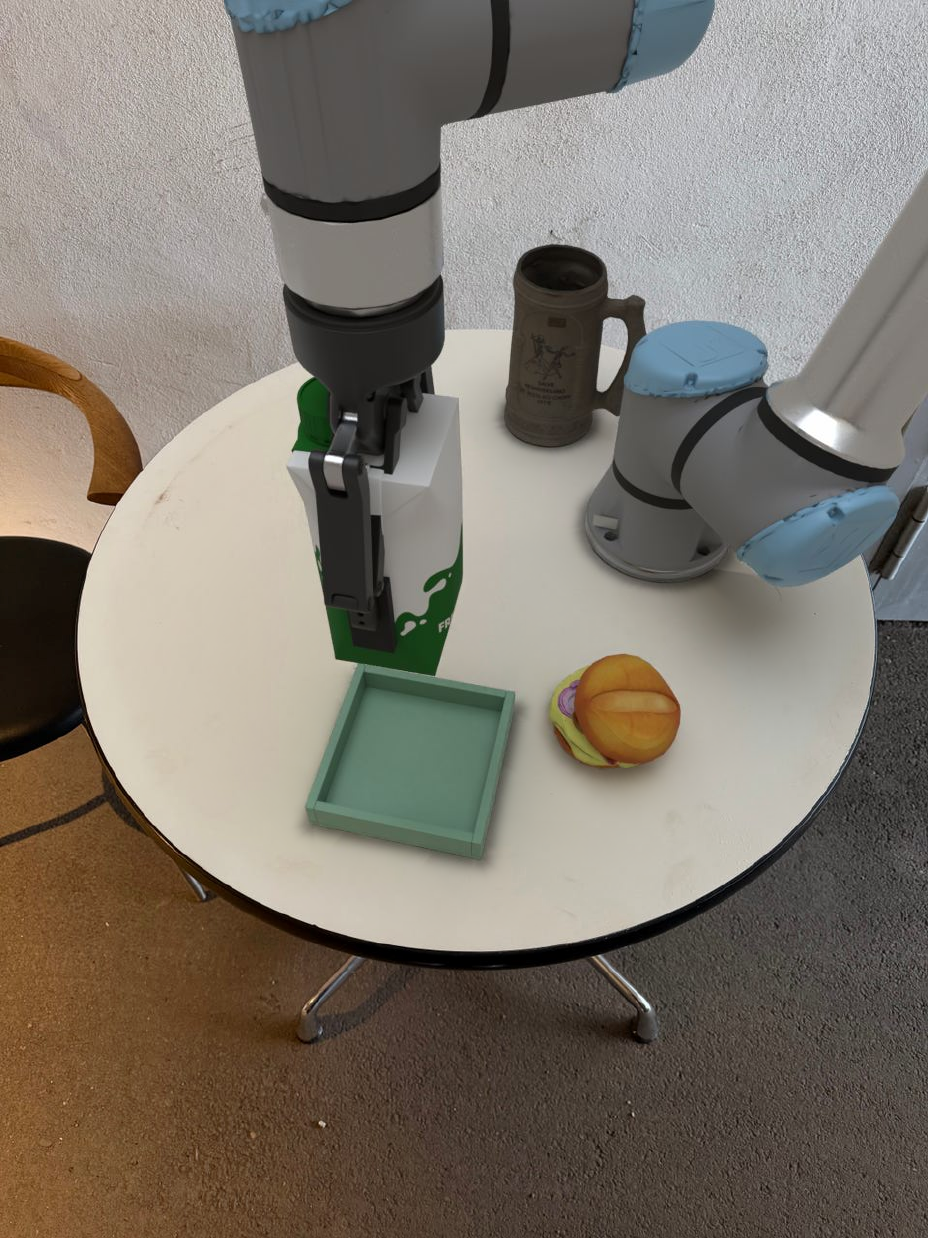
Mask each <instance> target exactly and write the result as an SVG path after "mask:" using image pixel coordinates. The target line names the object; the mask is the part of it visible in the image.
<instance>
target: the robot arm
mask: <svg viewBox="0 0 928 1238" xmlns="http://www.w3.org/2000/svg"><path fill="white" fill-rule="evenodd" d="M223 5H224V9H225V13H226V15H227V16H229V19H230V23H231V24H230V25H231V28H232V33H233V37H234V43H235V48H236V52H237V57H238V61H239V67H240V71H241V72H240V73H241V76H242V81H243V87H244V92H245V96H246V102H247V106H248V111H249V116H250V121H251V126H252V132H253V135H254V143H255V147H256V152H257V156H258V160H259V167H260V174H261V179H262V184H263V190H264V192H263V193H262V194H261V198H260V201H259V206H260V209H261V212H263V213H264V215H266V216H268V217H269V224H270V228H271V233H272V239H273V244H274V249H275V255H276V261H277V266H278V271H279V274H280V279H281V280H282V282H284V283H283V287H282V298H283V304H284V309H285V314H286V315H285V316H286V320H287V324H288V325H287V326H288V330H289V336H290V340H291V346H292V351H293V354H294V356H295V358H296V360H297V361H298V363H299V365H300V366H301V367H302V368H303V369H304V370H305V371H306V372H307V373H309V374H310V375H311V376H312V377H315V378H316V379H318V380H319V381H320V382H321V383H322V384H323V385H324V386H325V387H326V388H327V389H328V390H329V393H328V397H327V420H328V422H329V423H330V426H331V446H330V449H329V451H328V450H321V449H315V448H314V449H312V451H311V453H310V456H309V459H308V468H309V472H310V476H311V479H312V483H313V486H314V490H315V493H316V506H317V518H318V531H319V543H320V556H321V569H322V581H323V591H322V595H323V594H324V596H323V604H324V606H325V607H326V606H328V607H333V608H339V609H344V610H347V614H348V620H349V625H350V631H351V636H352V642H353V646H355V647H360V648H366V649H371V650H377V651H382V652H387V653H393V654H394V653H395V650H396V647H397V637H396V628H395V619H394V610H393V601H392V592H391V583H390V577H385V576H384V558H385V548H384V535H382V525H381V515H371V510H370V488H369V479H368V474H369V472H370V468H375V469H381V470H384V473H383V474H390V475H393V472H394V470H395V467H396V465H397V462H398V460H399V456H400V439H401V430H402V429H403V427H404V426H405V424H406V418H407V407H408V410H409V412H414V413H418V411H419V409H420V406H421V404H422V402H423V399H424V397H423V394H422V393H425V394H433V395H436V392H435V384H434V375H433V365H434V364H435V363H436V361H437V360H438V358H439V357H440V355H441V353H442V352H443V349H444V346H445V341H446V340H445V339H446V329H445V328H446V323H445V286H444V279H443V276H442V272H443V268H444V265H445V256H444V255H445V254H444V252H445V251H444V230H443V229H444V227H443V200H442V198H443V197H442V174H441V173H442V161H441V143H442V139H441V138H442V137H441V136H442V127H443V126H445V125H449V124H453V123H454V124H455V123H459V122H463V121H464V122H465V121H470V120H476V119H480V118H481V119H482V118H484V117H486V116H489V115H494V114H499V113H505V112H510V111H513V110H515V111H516V110H519V109H525V108H530V107H533V106H539V105H545V104H550V103H554V102H560V101H563V100H568V99H574V98H579V97H584V96H585V97H586V96H589V95H594V94H595V95H596V94H599V93H604V92H605V93H606V94H607V95H608V94H617V93H619V92H620V91H621V90H623V88H624V87H627V86H630V85H633V84H637V83H640V82H644V81H647V80H650V79H654V78H657V77H661V76H664V75H666V74H669V73H671V72H674V71H675V70H676V69H679V68H680V67H681V66H682V65H684V64H685V62H687V61H688V59H689V58H691V57H692V55H693V54H694V52H696V51H697V49H698V47H699V46H700V44H701V43H702V41H703V39H704V37H705V35H706V32H707V31H708V29H709V26H710V24H711V21H712V18H713V15H714V12H715V8H716V0H223ZM768 351H769V350H768V349H767V346H766V345H765V342H763V341H762V339H761V338H759V337H758V336H757V335H755V334H754V333H753V332H751V331H749V330H747V329H745V328H743V327H740V326H738V325H734V324H730V323H728V322H727V323H726V322H723V321H722V322H721V321H714V320H695V319H694V320H683V321H677V322H673V323H668V324H666V325H663V326H659V327H657V328H655V329H653V330H651V331H649V332H648V333H646V335H645V336H644V337H643V338H642V339H641V340H640V341H639V342H638V343H637V345H636V346H635V348H634V350H633V352H632V355H631V360H630V364H629V368H628V371H627V373H626V375H625V377H624V390H623V396H622V403H621V410H620V416H619V417H618V423H617V430H616V435H615V436H616V437H615V443H614V450H613V455H612V461H611V464H610V465H609V467H608V468H607V470H606V472H605V473H604V475H603V476H602V478H601V479H600V481H599V482H598V484H597V486H596V488H595V489H594V490H593V492H592V494H591V496H590V499H589V500H588V503H587V507H586V512H585V521H584V528H585V532H586V537H587V540H588V541H589V542H588V543H589V544H590V545H591V547H592V549H593V550H594V551H595V553H596V554H597V555H598V556H599V557H600V558H601V559H602V560H603V561H604V562H606V563H607V564H608V565H609V566H611V567H613V569H616V570H617V571H620V572H621V573H623V574H626V575H628V576H631V577H633V578H637V579H640V580H644V581H650V582H656V583H657V582H658V583H674V582H682V581H687V580H692V579H694V578H697V577H700V576H702V575H704V574H706V573H708V572H709V571H711V570H712V569H713V568H715V567H716V566H717V565H718V564H719V563H720V561H722V559H723V557H724V556H725V555H726V552H727V550H728V547H730V548H731V550H732V551H733V552H734V553H735V556H736V559H737V560H738V561H740V562H742V563H743V564H746V565H747V566H748V567H749V568H750V569H751V570H752V571H753V572H754V573H755V574H756V575H758V576H759V578H761V579H762V580H763V581H764V582H766V583H767V584H769V585H771V586H774V587H778V588H794V587H800V586H804V585H807V584H810V583H811V584H812V583H814V582H816V581H819V580H821V579H823V578H825V577H828V576H829V575H831V574H832V573H834V572H836V571H838V570H839V569H841V568H844V567H845V566H846V565H848V564H850V563H851V562H853V561H854V560H855V559H857V558H858V557H859V556H861V555H862V554H863V553H864V552H866V551H867V550H868V549H869V548H871V546H873V545H874V544H875V543H876V542H878V540H879V539H880V538H881V537H882V536H883V535H884V534H885V533H886V532H887V531H888V529H889V528H890V527H891V526H892V525H893V524H894V521H895V520H896V518H897V516H898V511H899V510H900V505H901V502H900V499H899V497H898V496H897V495H896V494H897V493H896V490H895V489H894V488H893V487H891V486H889V485H888V486H887V483H888V482H889V480H890V479H891V477H892V476H893V475H894V473H895V472H896V470H898V468H899V467H900V465H901V464H902V463H903V462H904V460H905V459H906V448H905V442H904V439H903V434H902V428H903V427H904V426H905V424H906V423H907V422H908V421H909V419H910V418H911V417H912V416H913V413H914V412H915V411H916V410H917V408H918V407H919V406H920V405H921V403H922V402H923V400H924V399H925V397H926V396H927V395H928V167H927V168H926V170H925V171H924V173H923V174H922V176H921V178H920V179H919V180H918V183H917V184H916V186H915V187H914V189H913V191H912V192H911V193H910V195H909V197H908V198H907V200H906V201H905V204H904V205H903V207H902V208H901V209H900V212H898V215H897V216H896V218H895V219H894V221H893V223H892V225H891V226H890V228H889V229H888V231H887V232H886V234H885V235H884V237H883V239H882V240H881V242H880V244H878V247H877V249H876V250H875V252H874V254H873V255H872V256H871V258H870V260H869V261H868V263H867V265H866V266H865V268H864V269H863V270H862V273H861V274H860V276H859V277H858V279H857V281H856V282H855V284H854V285H853V287H852V289H851V291H850V292H849V293H848V295H847V297H846V298H845V300H844V302H843V303H842V305H841V307H840V308H839V310H838V311H837V312H836V314H835V316H834V318H833V319H832V320H831V323H830V324H829V326H828V328H827V329H826V331H825V332H824V333H823V335H822V337H821V338H820V340H819V342H818V344H817V345H816V347H815V348H814V350H813V351H812V353H811V355H810V356H809V358H808V360H807V361H806V363H805V364H804V366H803V367H802V369H801V371H800V372H799V373H798V374H796V375H794V376H790V377H786V378H783V379H778V380H775V381H774V382H771V383H770V385H768V384H767V383H766V382H765V380H764V376H765V375H766V373H767V371H768V370H769V366H770V365H769V362H768V357H769V352H768ZM357 453H362V454H368V455H375V456H378V455H382V454H384V463H383V465H382V466H374V465H369V464H368V463H365V459H364V456H361V455H357Z"/></svg>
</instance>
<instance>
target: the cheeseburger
mask: <svg viewBox="0 0 928 1238" xmlns="http://www.w3.org/2000/svg"><path fill="white" fill-rule="evenodd" d="M681 712H682V711H681V704H680V702H679V700H678V698H677V697H676V696H675V693H674V692H673V690H672V689H671V687H670V686H669V684H668V682H667V681H666V680H665V679H664V677H663V676H662V675H661V674H660V671H658V670H657V668H655V667H654V666H653V665H652V664H651V663H649V662H648V661H646V660H644V659H643V658H642V657H640V656H637V655H633V654H629V653H618V654H617V653H616V654H611V655H606V656H604V657H601V658H599V659H597V660H595V661H594V662H592V663H591V664H590V665H589V664H588V665H586V666H584V667H581V668H579V669H578V670H576V671H575V672H573V673H571V674H569V675H568V676H567V677H565V678H564V679H563V680H562V681H561V682H560V683H559V684H558V685H557V686H556V688H555V689H554V691H553V693H552V696H551V698H550V702H549V705H548V716H549V720H550V723H552V725H553V732H554V735H555V736H556V738H557V741H558V742H559V744H560V746H561V747H562V749H563V751H564V752H565V753H567V754H568V755H569V756H571V757H572V758H573V759H575V761H577V762H578V763H580V764H581V765H585V766H589V767H593V768H597V769H599V770H600V769H601V770H604V769H617V768H618V769H619V768H623V769H627V768H633V767H635V766H638V765H641V764H644V763H650V762H653V761H654V760H656V759H658V758H660V757H661V756H663V755H665V754H666V752H667V751H669V749H670V748H671V747H672V745H673V743H674V741H675V740H676V737H677V734H678V731H679V729H680V725H681V715H682V713H681Z"/></svg>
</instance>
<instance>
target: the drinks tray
mask: <svg viewBox="0 0 928 1238" xmlns="http://www.w3.org/2000/svg"><path fill="white" fill-rule="evenodd" d="M515 702H516V691H512V690H506V689H501V688H496V687H491V686H485V685H480V684H473V683H469V682H463V681H458V680H452V679H447V678H441V677H436V676H430V675H424V674H418V673H412V672H406V671H400V670H395V669H389V668H383V667H377V666H371V665H365V664H360V663H356V667H355V670H354V672H353V674H352V678H351V681H350V683H349V686H348V688H347V691H346V693H345V696H344V699H343V702H342V705H341V707H340V710H339V713H338V715H337V718H336V721H335V723H334V726H333V729H332V732H331V735H330V737H329V740H328V744H327V745H326V749H325V751H324V754H323V757H322V758H321V762H320V764H319V767H318V769H317V773H316V775H315V778H314V781H313V783H312V786H311V789H310V792H309V794H308V798H307V799H306V803H305V805H304V809H305V812H306V815H307V818H308V821H309V824H310V825H314V826H315V825H316V826H320V827H325V828H330V829H335V830H338V831H344V832H348V833H352V834H357V835H362V836H366V837H370V838H371V837H372V838H376V839H382V840H386V841H391V842H396V843H400V844H404V845H409V846H414V847H418V848H423V849H429V850H433V851H438V852H442V853H448V854H450V855H451V854H452V855H457V856H462V857H466V858H470V859H476V860H482V858H483V853H484V848H485V844H486V839H487V835H488V830H489V826H490V822H491V817H492V813H493V807H494V803H495V800H496V795H497V790H498V785H499V780H500V775H501V771H502V767H503V763H504V758H505V754H506V749H507V745H508V740H509V736H510V732H511V726H512V722H513V718H514V712H515V705H516V703H515Z"/></svg>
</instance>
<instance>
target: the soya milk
mask: <svg viewBox="0 0 928 1238" xmlns="http://www.w3.org/2000/svg"><path fill="white" fill-rule="evenodd" d="M328 393H329V390H328V389H327V388H326V387H325V386H324V385H323V384H322V383H321V382H320V381H319V380H318V379H316V378H315V377H314V376H312V377H310V378H308V379H307V380H305V382H304V383H302V385H301V386H300V387H299V389H298V391H297V394H296V403H297V409H298V415H299V424H298V427H297V439H296V440H295V442H294V444H293V445H292V448H291V455H290V457H289V459H288V461H287V463H286V464H285V468H286V470H287V472H288V474H289V476H290V479H291V480H292V482H293V484H294V487H295V488H296V490H297V493H298V494H299V497H300V498H301V500H302V503H303V505H304V511H305V516H306V521H307V524H308V525H307V526H308V528H309V529H308V530H309V533H310V538H311V544H312V548H313V553H314V558H315V561H316V567H317V571H318V576H319V581H320V586H321V591H322V592H323V581H322V569H321V556H320V543H319V531H318V518H317V506H316V493H315V490H314V486H313V483H312V479H311V476H310V472H309V468H308V459H309V456H310V453H311V451H312V449H314V448H315V449H321V450H328V451H329V449H330V446H331V426H330V423H329V422H328V420H327V397H328ZM422 394H423V397H424V399H423V402H422V404H421V406H420V409H419V411H418V413H414V412H409V410H408V407H407V418H406V424H405V426H404V427H403V429H402V430H401V439H400V456H399V460H398V462H397V465H396V467H395V470H394V472H393V475H390V474H383V473H384V470H381V469H375V468H370V472H369V474H368V479H369V488H370V510H371V515H381V525H382V535H384V548H385V558H384V576H385V577H390V583H391V592H392V601H393V610H394V619H395V628H396V637H397V647H396V650H395V653H394V654H393V653H387V652H382V651H377V650H371V649H366V648H360V647H355V646H353V642H352V636H351V631H350V625H349V620H348V614H347V610H344V609H339V608H333V607H328V606H325V612H326V617H327V621H328V627H329V632H330V638H331V642H332V643H331V644H332V648H333V654H334V659H335V660H337V661H342V662H349V663H354V664H358V663H360V664H365V665H371V666H376V667H382V668H387V669H392V670H398V671H403V672H409V673H414V674H420V675H425V676H431V677H436V675H437V671H438V667H439V664H440V660H441V657H442V654H443V651H444V647H445V645H446V641H447V637H448V634H449V630H450V627H451V625H452V621H453V617H454V613H455V609H456V605H457V602H458V600H459V596H460V591H461V588H462V585H463V578H464V523H463V522H464V521H463V520H464V518H463V516H464V515H463V514H464V512H463V511H464V510H463V504H464V503H463V467H462V447H461V446H462V445H461V444H462V443H461V426H460V425H461V423H460V398H459V397H456V396H449V395H440V394H435V395H433V394H425V393H422ZM357 455H361V456H364V459H365V463H368V464H369V465H374V466H382V465H383V463H384V454H382V455H378V456H375V455H368V454H362V453H357ZM322 596H323V597H324V594H323V593H322Z"/></svg>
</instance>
